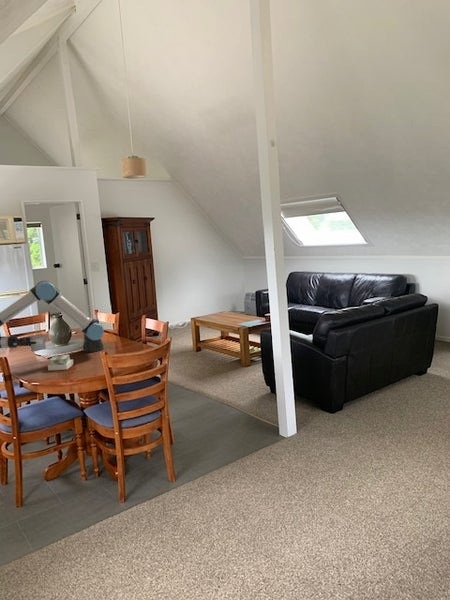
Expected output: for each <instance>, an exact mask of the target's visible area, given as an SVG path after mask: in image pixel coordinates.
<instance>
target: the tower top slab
mask: <svg viewBox="0 0 450 600" xmlns="http://www.w3.org/2000/svg"><path fill="white" fill-rule="evenodd" d="M69 360H71V357H70V354H61V355H58V354H57V355H53V356H52V357H51V358H50V359H49V360H48V361H49V364H50V366H51V365H62V364H67V363H68V362H69Z"/></svg>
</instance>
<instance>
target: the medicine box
mask: <svg viewBox="0 0 450 600" xmlns="http://www.w3.org/2000/svg"><path fill="white" fill-rule="evenodd" d="M30 337H31V338H30V342H31V340H42V344H39V345H31V346H30V351H31V352H34V353H35V352H39V351H42V350H45V349H47V348H46V347H47V345H46V341H45V337H46V336H45V335H41V334H40V335H35V337H34V336H30Z"/></svg>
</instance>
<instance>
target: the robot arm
mask: <svg viewBox="0 0 450 600" xmlns="http://www.w3.org/2000/svg"><path fill="white" fill-rule="evenodd" d="M40 301H43V302H44V303H46V304H47V305H49V306H51V305H52V306H53V307H54V308H56V309H57V310H58V311H59V312H60V313H62V314H63V315H64V316H65V317H66V318H68V319H69V320H70V321H72V322H73V323H74V324H75V325H77V326H78V327H79V331H80V332H82V333H83V334H82V335H83V344H82V352H84V353H95V352H99V351H102V350H104V349H105V346H104V343H103V340H102V337H104V333H105V330H104V326H103V325H102V324H100V320H99V317H94V318H93V317H88V316H87V315H86V314H85V313H84V312H83V311H81V310H80V309H78V307H77V306H75V305H74V303H72V302H70V300H68V299H67V298H66V297H64V296H63V295H62V291H61V290H59V289H58V288H57V287H56V285H54V284H52V283H51V282H50V281H49V280H41V281H39V282H38V283H37V284H35V286H33V287H32V288H30V289H29V292H27V293H26V294H25V295H23V296H21V298H19V299H17V300H16V301H14V302H13V303H11V304H10V305H9V306H8V307H7V306H6V308H4V309H3V310H2V311H0V328H1V327H2V326H3V325H5V324H6V323H8V322H9V321H10V320H12V319H13V318H15V317H16V316H18V315H19V314H20V313H21V312H23V311H24V310H26V309H27V308H29V307H30V306H32V305H33V304H35V303H36V302H40ZM35 336H36V335H35ZM35 336H33V337H35ZM31 337H32V336H27V337H25V336H23V337H20V338H18V337H17V336H16V335H11V336H10V335H9V336H8V335H3V336H1V333H0V349H6V350H7V349H11V348H12V349H15V348H17V347H28V346H29V347H31V345H39V344H42V340H31V342H30V338H31ZM44 337H45V342H46V341H49V336H44Z"/></svg>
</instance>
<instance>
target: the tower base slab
mask: <svg viewBox="0 0 450 600" xmlns="http://www.w3.org/2000/svg"><path fill="white" fill-rule="evenodd" d="M73 365H74V359H71V358H70V360H69V362H68V363H67V364H62V365H51V366H50V363H49V364H48V365H47V369H48V370H47V371H62V370H63V371H64V370H68V369H69V368H70V367H73Z"/></svg>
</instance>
